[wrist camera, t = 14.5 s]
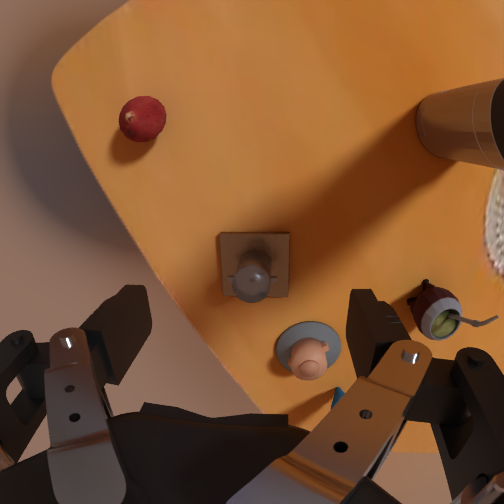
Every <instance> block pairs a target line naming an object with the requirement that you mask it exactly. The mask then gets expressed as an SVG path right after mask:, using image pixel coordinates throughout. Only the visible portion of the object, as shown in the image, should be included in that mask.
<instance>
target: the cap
mask: <svg viewBox="0 0 504 504" xmlns="http://www.w3.org/2000/svg"><path fill="white" fill-rule="evenodd" d="M328 350H329V345H328V344H327V342H326V341H324V342H321V341H320V340H318V339H316V338H311V337H307V338H302V339H300V340H298V341H297V342H295V343H294V345H293V346H292V348H291V358H289V359H288V365H289V366H290V368H291V370H292V373H293V374H294V375H295V376H296V377H297V378H299V379H302V380H314V379H317V378H319V377H321V376H322V375H323V374H324V373H325V372H326V370H327V360H326V354H325V352H326V351H328Z"/></svg>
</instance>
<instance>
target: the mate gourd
mask: <svg viewBox="0 0 504 504" xmlns="http://www.w3.org/2000/svg"><path fill="white" fill-rule="evenodd" d="M407 303H408V305H410V307H411V312H412V314H413V317H414V320H415V322H416V325H417V327H418V329H419V331H420V332H421V333H422V334H424V335H425V336H426V337H427V338H429V339H432V340H443V339H447V338H448V337H450V336H452V335H453V334H454V333H455V332H456V331H457V329H458V328H459V325H460V323H461V321H462V322H465V323H468V324H471V325H472V326H474V327H479V326H483V325H486V324H488V323H490V322H492V321H494V320H495V319H497V318H499V317H498V316H497V315H496V316H494V317H492V318H490V319H487V320H485V321H482V322H480V321H477V320H470V319H467V318H464V317H462V309H461V305H460V303H459V301H458V299H457V298H456V297H455V296H454V295H453V294H452V293H451V292H450V291H448V290H446V289H443V288H440V287H435V286H434V285H432V284H430V283H429V280H428V279H425V280H423V292H422V293H421V294H420V295H419V297H415V298H410V299H408V300H407Z"/></svg>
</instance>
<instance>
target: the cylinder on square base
mask: <svg viewBox="0 0 504 504" xmlns="http://www.w3.org/2000/svg"><path fill="white" fill-rule="evenodd" d="M220 251H221V268H222V284H223V296H237V297H238V298H239V299H241V300H242V301H245V302H248V303H255V302H259V301H261V300H263V299H264V298H265V297H288V278H289V232H221V233H220Z"/></svg>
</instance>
